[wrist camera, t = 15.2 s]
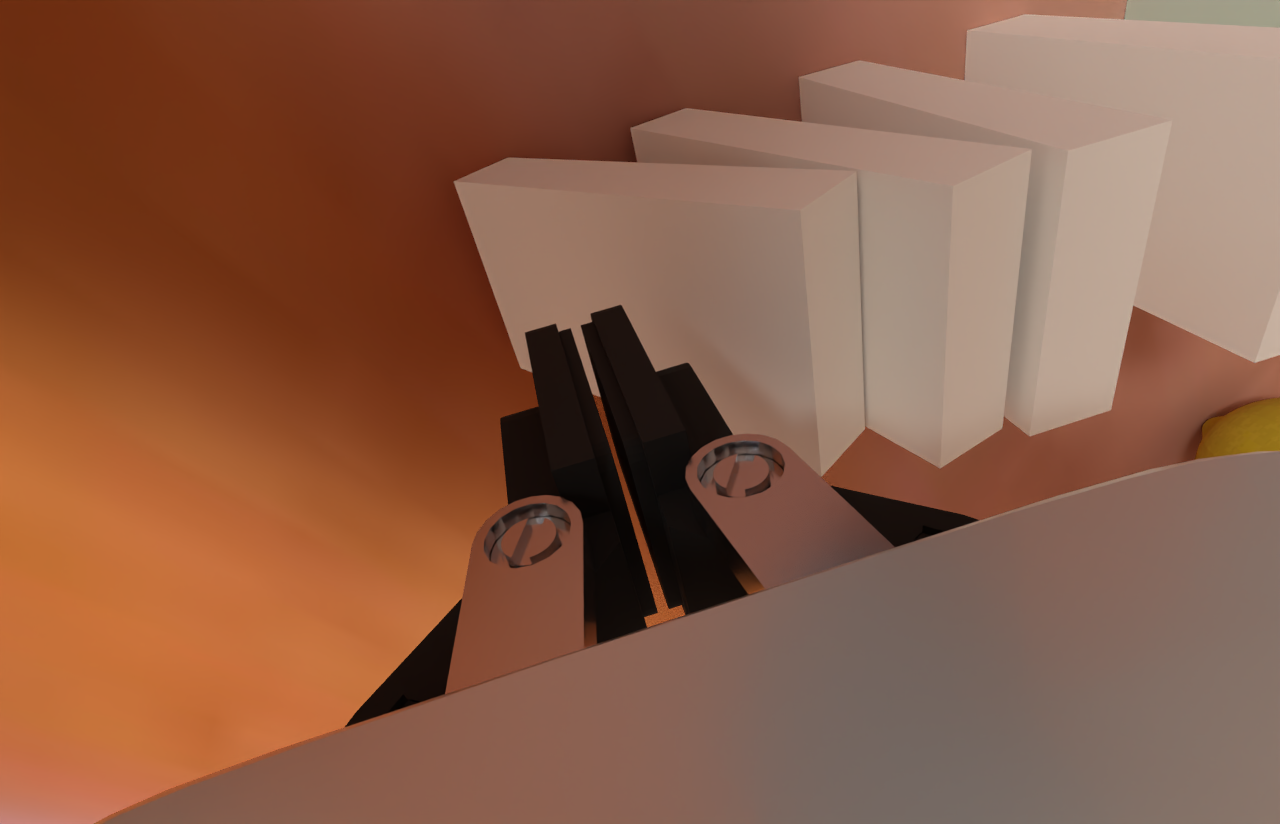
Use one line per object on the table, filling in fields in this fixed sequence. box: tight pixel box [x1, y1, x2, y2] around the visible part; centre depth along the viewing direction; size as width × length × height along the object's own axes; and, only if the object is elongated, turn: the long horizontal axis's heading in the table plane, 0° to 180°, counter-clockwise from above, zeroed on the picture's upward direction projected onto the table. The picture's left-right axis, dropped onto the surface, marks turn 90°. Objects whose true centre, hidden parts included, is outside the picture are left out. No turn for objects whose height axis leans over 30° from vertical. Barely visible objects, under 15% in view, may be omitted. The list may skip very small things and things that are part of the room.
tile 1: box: [454, 157, 865, 477], centre depth 14 cm, size 2×5×9 cm
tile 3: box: [799, 60, 1173, 437], centre depth 15 cm, size 2×5×9 cm, turn 13°
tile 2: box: [630, 108, 1032, 468], centre depth 14 cm, size 2×5×9 cm, turn 14°
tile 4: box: [965, 14, 1280, 363], centre depth 15 cm, size 2×5×9 cm, turn 13°
